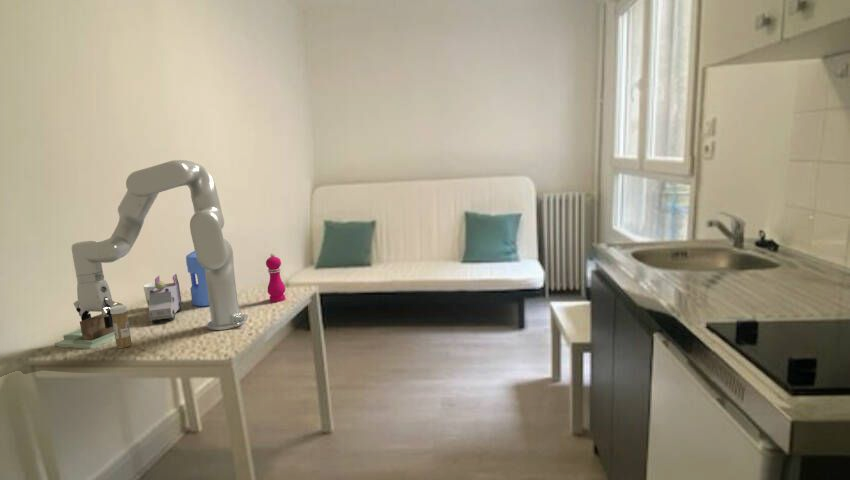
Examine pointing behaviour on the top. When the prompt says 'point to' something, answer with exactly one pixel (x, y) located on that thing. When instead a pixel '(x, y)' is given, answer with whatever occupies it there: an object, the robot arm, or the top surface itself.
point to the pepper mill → (275, 279)
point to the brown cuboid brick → (94, 328)
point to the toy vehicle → (164, 300)
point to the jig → (77, 340)
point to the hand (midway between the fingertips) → (98, 326)
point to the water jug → (200, 289)
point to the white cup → (147, 290)
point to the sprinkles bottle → (121, 326)
